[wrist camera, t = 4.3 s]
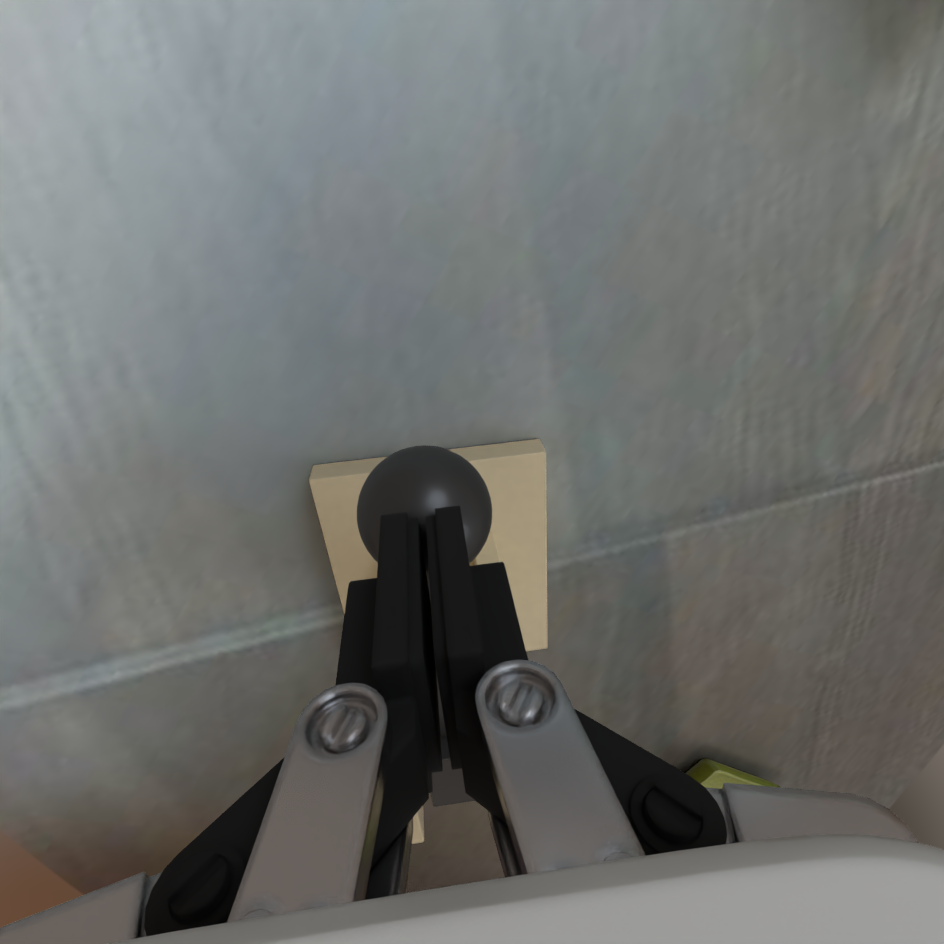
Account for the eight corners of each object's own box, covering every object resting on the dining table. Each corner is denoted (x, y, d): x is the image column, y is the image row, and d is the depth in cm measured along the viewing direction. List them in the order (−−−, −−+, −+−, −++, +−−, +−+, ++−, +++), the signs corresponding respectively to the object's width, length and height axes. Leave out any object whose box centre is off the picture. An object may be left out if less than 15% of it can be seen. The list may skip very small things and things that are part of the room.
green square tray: (704, 741, 38) (719, 770, 36) (784, 771, 41) (801, 800, 39) (621, 808, 41) (631, 838, 39) (701, 831, 44) (714, 860, 42)
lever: (349, 429, 14) (338, 508, 11) (479, 415, 14) (499, 488, 11) (416, 731, 21) (418, 823, 18) (500, 719, 21) (515, 808, 18)
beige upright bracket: (312, 464, 24) (246, 696, 14) (539, 438, 25) (636, 642, 14) (361, 655, 30) (340, 911, 20) (542, 630, 31) (611, 868, 21)
